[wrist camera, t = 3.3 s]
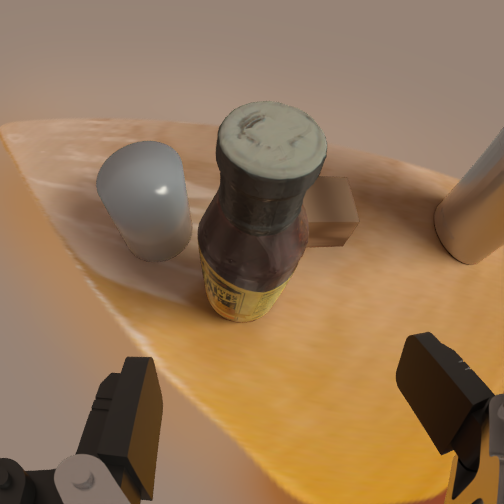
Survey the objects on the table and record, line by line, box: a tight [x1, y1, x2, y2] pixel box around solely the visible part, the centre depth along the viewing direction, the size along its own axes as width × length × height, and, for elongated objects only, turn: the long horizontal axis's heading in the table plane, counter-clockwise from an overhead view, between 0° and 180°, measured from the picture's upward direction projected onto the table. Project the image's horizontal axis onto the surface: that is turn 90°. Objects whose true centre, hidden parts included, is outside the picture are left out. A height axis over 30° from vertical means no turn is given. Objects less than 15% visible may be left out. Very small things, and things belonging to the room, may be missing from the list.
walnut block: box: [303, 176, 360, 247], centre depth 30 cm, size 5×5×5 cm
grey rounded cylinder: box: [96, 141, 192, 262], centre depth 27 cm, size 7×7×9 cm
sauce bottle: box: [198, 101, 327, 322], centre depth 20 cm, size 7×6×20 cm
